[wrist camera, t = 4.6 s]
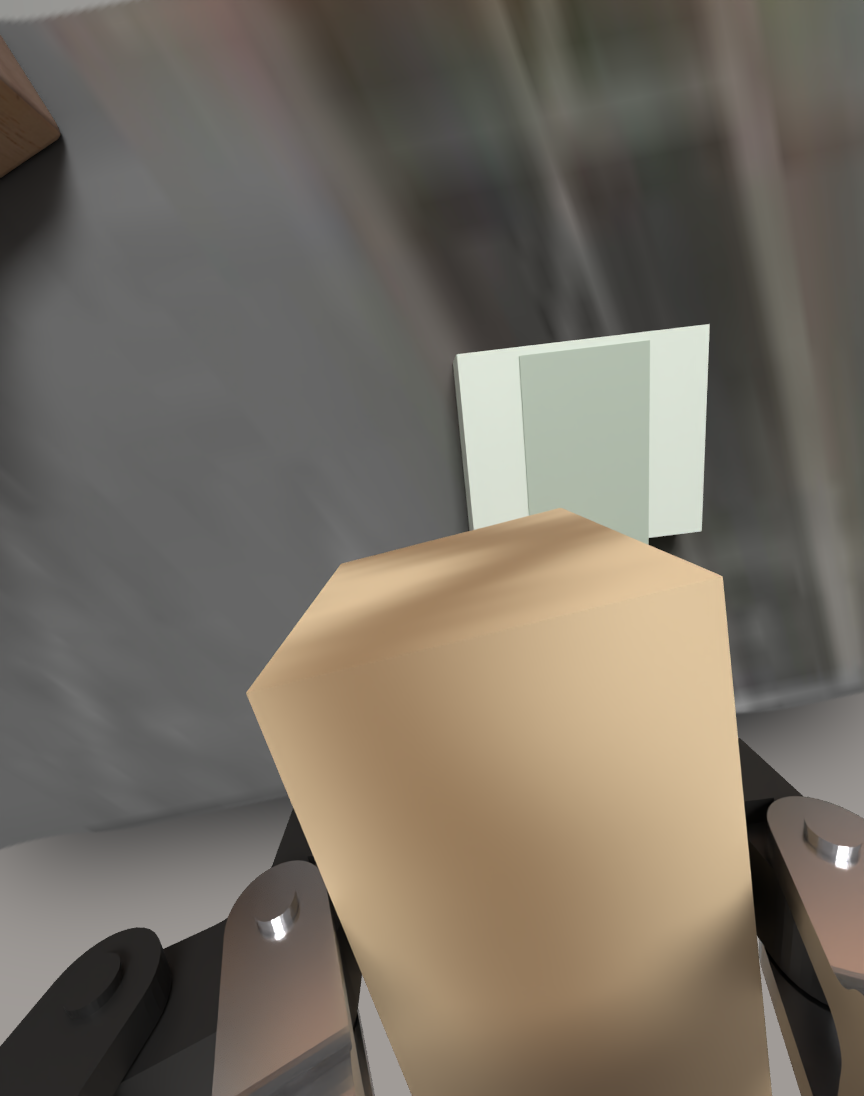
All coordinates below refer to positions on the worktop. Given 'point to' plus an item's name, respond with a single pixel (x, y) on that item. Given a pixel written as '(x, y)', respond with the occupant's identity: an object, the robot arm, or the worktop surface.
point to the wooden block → (21, 115)
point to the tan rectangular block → (531, 810)
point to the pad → (588, 431)
